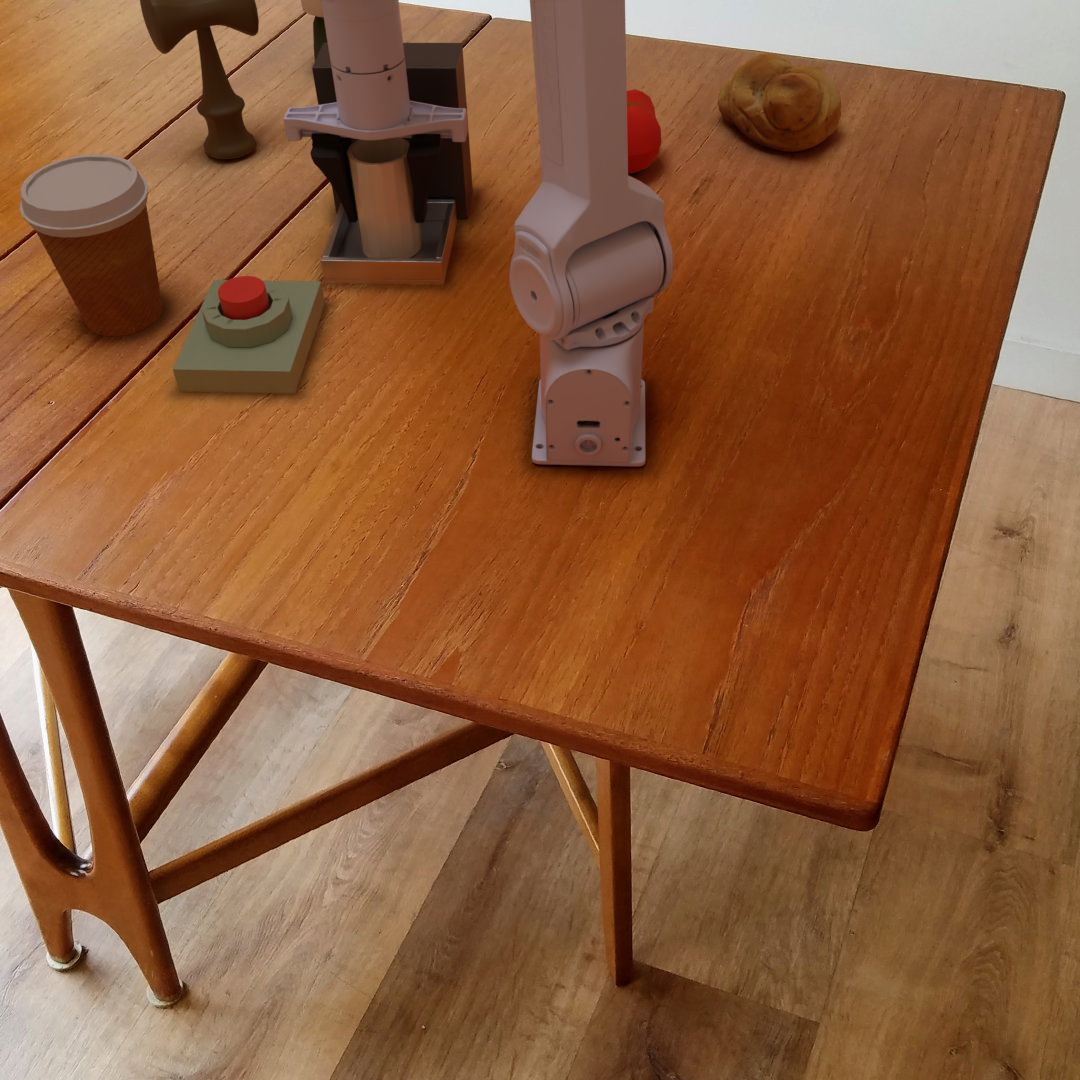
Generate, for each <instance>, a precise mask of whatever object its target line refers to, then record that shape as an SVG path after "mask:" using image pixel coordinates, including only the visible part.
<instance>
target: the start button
mask: <svg viewBox="0 0 1080 1080" xmlns="http://www.w3.org/2000/svg"><path fill="white" fill-rule="evenodd" d="M226 280H227V281H226V282H224V283H223V284H222V285H221V286H220V287H219V289H218V296H219V300H220V304H221V307H222V311H223V314H224V315H225V316H226V317H227V318H229V319H231V320H247V319H251V318H254V317H258V316H260V315H262V314H263V313H265V312H266V311H267V310H268V309H269V300H268V296H267V291H266V287H265V283H264V282H263V281H264V280H262V279H261V278H259V277H257V276H252V275H240V276H236V277H232V278H229V279H226Z"/></svg>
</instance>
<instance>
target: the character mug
mask: <svg viewBox="0 0 1080 1080" xmlns="http://www.w3.org/2000/svg"><path fill="white" fill-rule="evenodd" d="M300 3H301V7H302V11H303V12H305V13H306V14H307V15H310V16H312V17H313V16H314V19H313V21H312V31H313V32H312V37H313V40H312V41H313V57H314V59H313V60H314V61H315V60H316V58H317V56H318V54H319V51H320V49H321V47H322V45H323V43H328V42H327V35H326V29H325V22H324V16H323V9H322V3H321V0H300Z"/></svg>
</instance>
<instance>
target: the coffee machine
mask: <svg viewBox="0 0 1080 1080" xmlns="http://www.w3.org/2000/svg"><path fill="white" fill-rule="evenodd" d="M403 46H404V55H405V63H406V73H407V82H408V91H409V100H410V101H415V102H420V103H426V104H431V105H437V106H442V107H449V108H465V109H466V112H467V113H468V104H467V103H468V102H467V91H466V90H467V89H466V88H467V87H466V77H465V76H466V75H465V62H464V52H463V51H464V48H463V42H403ZM311 70H312V77H313V82H314V88H315V93H316V100H317V105H322V104H328V103H335V102H337V99H336V93H335V86H334V80H333V74H332V67H331V61H330V55H329V48H328V43H323V45H322V47H321V49H320V51H319V54H318V56H317V58H316V60H315V59H314V62H313V64H312V66H311ZM468 117H469V116H468V115H467V126H468V127H469V118H468ZM403 139H405V140H406V141H408V142H409V144H410V143H411V139H412V138H403ZM357 140H360V139H354V138H351V141H352V144H353V143H354V142H355V141H357ZM471 158H472V157H471V147H470V132H469V129H468V132H467V137H466V141H465V142H453V141H452V138H443V140H442V144H441V148H440V152H439V156H438V158H437V161H436V164H435V167H434V169H433V172H432V175H431V177H430V182H429V188H428V197H427V199H455V202H456V214H457V221H460V220H461V221H462V220H463V221H465V220H466V221H467V220H468V219H469V214H470V208H471V204H472V199H473V193H474V189H473V172H472V159H471ZM331 189H332V196H333V201H334V207H335V213H336V215H337V213H338V210H339V208H340V205H341V201H340V199H339V197H338V195H337V194H336V192H335V190H334V188H333V187H332V186H331Z"/></svg>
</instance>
